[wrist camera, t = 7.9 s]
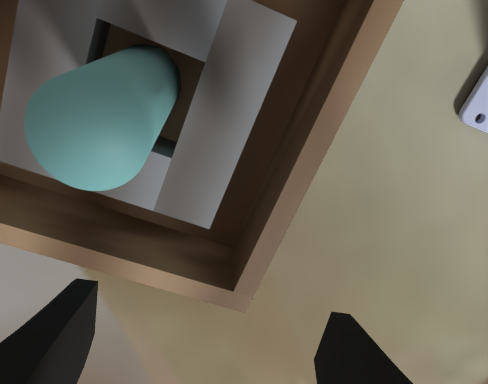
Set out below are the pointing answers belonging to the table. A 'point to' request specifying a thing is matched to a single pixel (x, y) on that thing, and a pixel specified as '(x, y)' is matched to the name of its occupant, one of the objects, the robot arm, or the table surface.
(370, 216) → the table surface
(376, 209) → the table surface
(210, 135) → the box
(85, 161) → the peg
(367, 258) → the table surface
